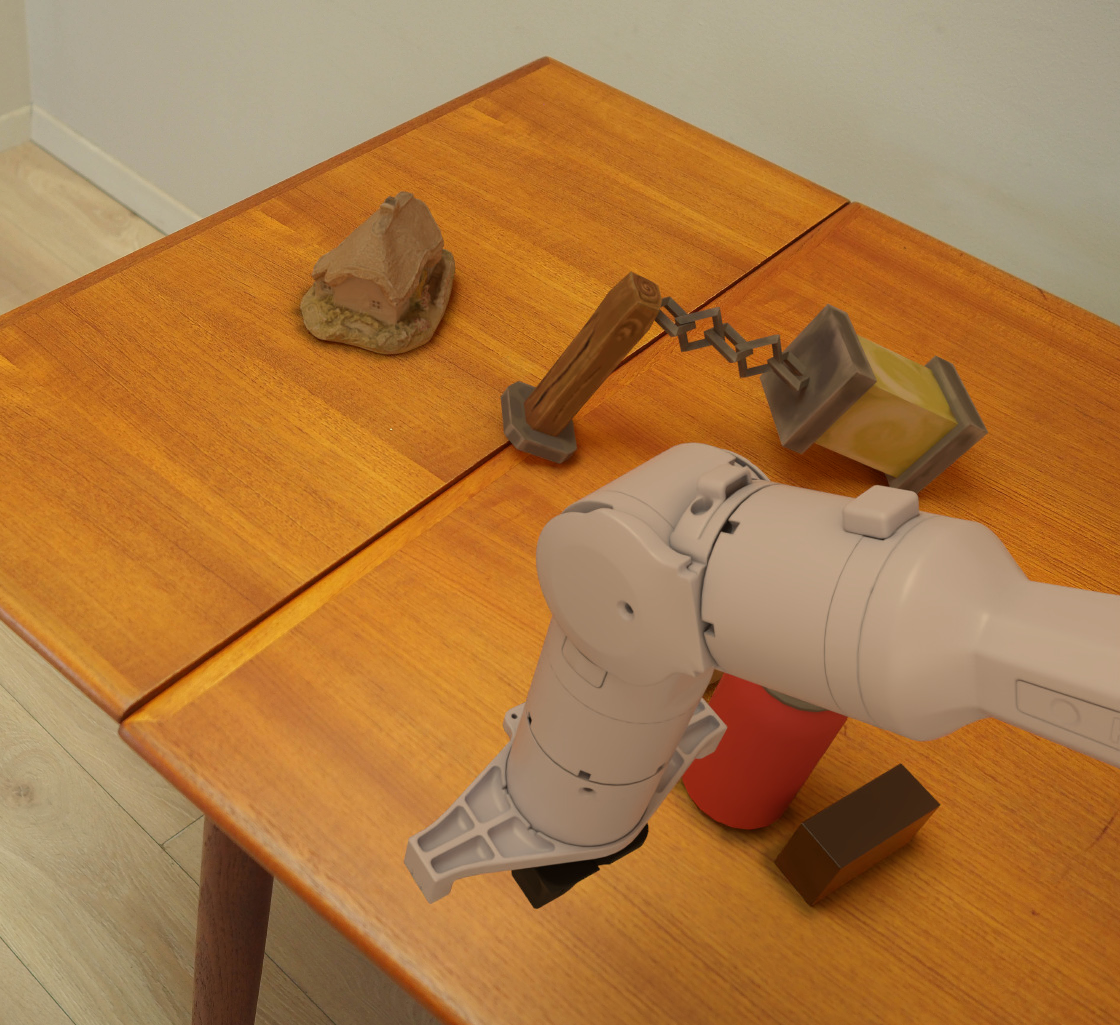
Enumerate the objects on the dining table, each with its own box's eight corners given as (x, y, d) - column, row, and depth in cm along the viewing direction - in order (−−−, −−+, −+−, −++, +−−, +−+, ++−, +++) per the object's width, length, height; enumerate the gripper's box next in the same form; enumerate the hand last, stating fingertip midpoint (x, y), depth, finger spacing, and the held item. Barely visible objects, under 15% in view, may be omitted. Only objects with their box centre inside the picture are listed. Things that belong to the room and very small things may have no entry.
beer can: (657, 752, 69) (716, 630, 61) (747, 723, 72) (817, 601, 63) (715, 849, 65) (787, 732, 57) (809, 814, 68) (892, 697, 59)
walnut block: (907, 843, 67) (941, 804, 64) (810, 906, 64) (840, 868, 61) (870, 802, 69) (901, 762, 66) (773, 861, 65) (801, 822, 62)
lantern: (803, 503, 99) (499, 381, 88) (953, 363, 88) (626, 206, 78) (826, 571, 94) (505, 451, 83) (988, 432, 83) (643, 273, 72)
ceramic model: (406, 375, 91) (420, 267, 83) (279, 326, 93) (282, 218, 86) (473, 284, 100) (492, 181, 93) (357, 243, 102) (366, 139, 95)
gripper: (681, 576, 48) (607, 752, 58) (377, 710, 42) (351, 882, 52) (799, 704, 44) (698, 869, 54) (484, 873, 38) (434, 1025, 48)
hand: (534, 884), depth 53 cm, fingers closed
